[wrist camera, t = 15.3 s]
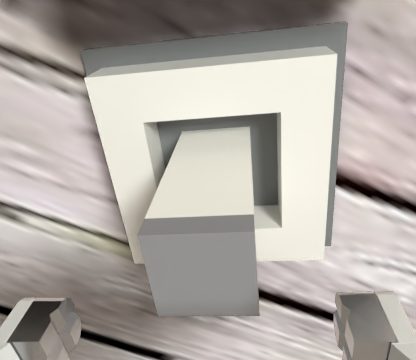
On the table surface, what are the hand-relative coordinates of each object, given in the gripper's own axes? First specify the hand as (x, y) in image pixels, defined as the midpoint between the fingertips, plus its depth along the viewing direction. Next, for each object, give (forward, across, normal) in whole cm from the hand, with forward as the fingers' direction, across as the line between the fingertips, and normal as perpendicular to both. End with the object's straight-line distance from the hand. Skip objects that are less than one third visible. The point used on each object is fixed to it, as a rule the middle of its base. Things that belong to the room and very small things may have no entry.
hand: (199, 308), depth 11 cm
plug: (+12, 0, +1) cm, 12 cm away
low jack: (+12, 0, +1) cm, 13 cm away
